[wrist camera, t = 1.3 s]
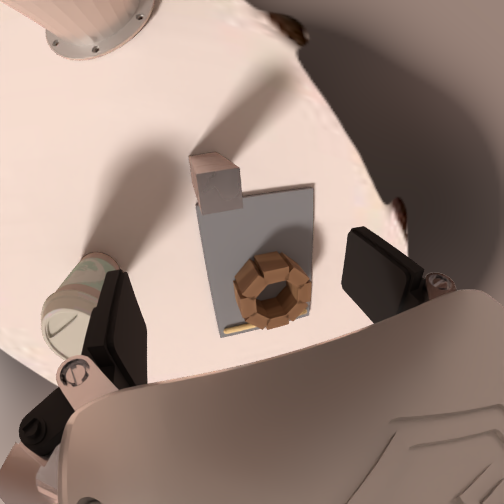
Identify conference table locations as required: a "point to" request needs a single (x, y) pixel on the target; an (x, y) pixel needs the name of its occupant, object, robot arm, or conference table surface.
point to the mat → (254, 247)
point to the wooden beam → (216, 183)
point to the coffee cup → (74, 305)
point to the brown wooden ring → (269, 272)
